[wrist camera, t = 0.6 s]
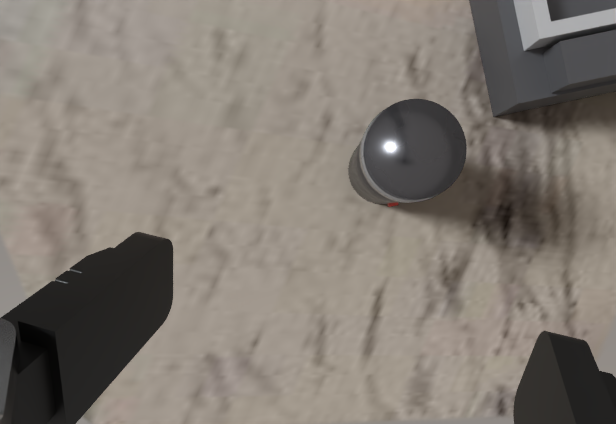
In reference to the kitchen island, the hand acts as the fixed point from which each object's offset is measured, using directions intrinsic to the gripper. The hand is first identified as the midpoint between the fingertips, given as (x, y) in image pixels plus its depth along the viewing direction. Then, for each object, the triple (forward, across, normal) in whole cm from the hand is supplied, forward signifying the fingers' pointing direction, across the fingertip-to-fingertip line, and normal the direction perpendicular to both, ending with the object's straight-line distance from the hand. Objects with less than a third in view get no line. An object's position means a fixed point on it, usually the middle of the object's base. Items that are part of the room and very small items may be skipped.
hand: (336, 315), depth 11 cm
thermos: (+23, +1, +4) cm, 23 cm away
